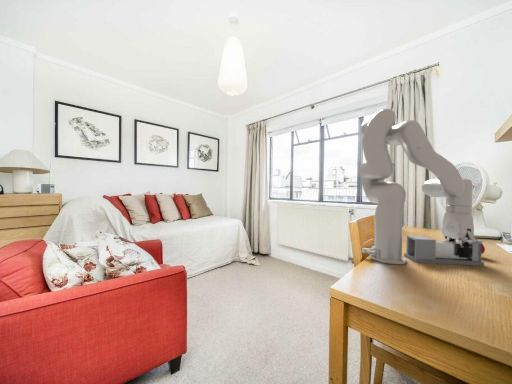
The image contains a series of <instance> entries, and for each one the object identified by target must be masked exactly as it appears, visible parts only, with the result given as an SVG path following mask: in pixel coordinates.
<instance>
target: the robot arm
mask: <svg viewBox="0 0 512 384" xmlns="http://www.w3.org/2000/svg"><path fill="white" fill-rule="evenodd" d="M396 118H397V117H396V114H395V112H394V110H393V109H391V108H383V109H380V110H379V111H377V112H375V113H374V114H372V115H370V116H369V117H368V118H367V119H366V120H364V121H363V122H362V124H361V127H360V132H361V134H362V139H361V140H362V142H361V145H362V151H363V155H364V159H365V160H364V161H363V162H362V163H360V165H359V169H358V174H359V176H358V177H359V179H360V182H361V186H362V188H363V189H362V190H363V192H364V194H365V197H366V198H367V200H368V201H370V203H373V204H376V207H375V213H374V244H373V245H372V246H371V247H369V248H367V247H362V248H361V253H363V254H367V255H369V257H370V258H371V259H372V260H373V261H376V262H379V263H383V264H389V265H405V264H406V263H407V257H405V256H403V251H402V250H403V213H404V207H405V202H406V198H407V192H406V189H405V188H404V186H402V184H400V183H399V182H396V181H395V182H394V181H385V180H387V179H389V178H391V176H392V175H393V174H394V172H395V171H394V170H395V169H394V164H393V160H392V158H391V153H390V152H389V148H388V146H394V147H398V146H401V147H402V149H403V151H404V153H405V155H406V157H407V159H408V160H409V162H410V163H411V164H414V165H416V166H419V167H422V168H423V169H426V170H428V171H429V172H431V173H432V174H433V175H434V176H435V177H436V178H431V179H428V180H426V181H424V183H422V185H421V190H422V192H423V194H424V195H426V196H428V197H431V198H445V212H444V214H443V220H442V227H441V234H442V236H444V239H445V241H455V242H457V240H458V242H459V244H460V247H459V248H458V257H460V258H468V257H469V248H470V246H471V245H472V244H474V243H475V242H476V240H475V238H476V237H474V236H475V227H474V226H475V225H474V219H473V218H474V217H473V213H472V212H473V181H472V180H471V179H467V178H463V177H462V175H461V174H460V171H459V170H458V169H457V167H456V166H455V165H454V164H453V162H451V161H450V160H448V159H447V158H446V157H444V156H443V155H441V154H439V153H437V151H435V149H434V147H433V145H432V144H431V142H430V140H429V138H428V137H427V134H426V133H425V130H424V129H423V127H422V126H421V124H420V122H418V121H417V120H414V119H411V120H410V119H409V120H406V121H403V122H400V123H399V124H396V125H395V123H396ZM463 241H465V243H463Z"/></svg>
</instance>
